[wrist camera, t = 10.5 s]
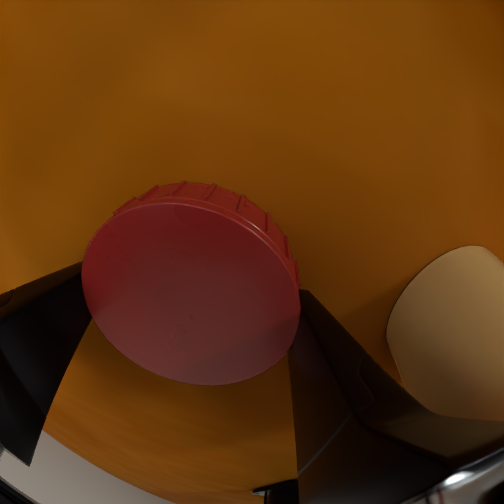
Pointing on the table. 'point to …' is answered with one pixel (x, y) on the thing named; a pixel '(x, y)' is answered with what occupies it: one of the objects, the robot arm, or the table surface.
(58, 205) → the table surface
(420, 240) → the table surface
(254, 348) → the lid
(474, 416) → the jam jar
